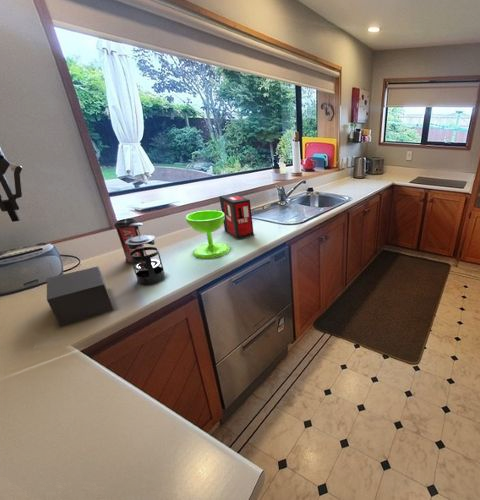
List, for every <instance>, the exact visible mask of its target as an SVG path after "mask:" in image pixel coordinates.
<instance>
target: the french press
mask: <svg viewBox="0 0 480 500" xmlns="http://www.w3.org/2000/svg"><path fill="white" fill-rule="evenodd" d="M141 226H144V223H143V222H137V223H133V224H130V225H129V227H135V229H137V232H138V236H136V237H132V238H130V239H128V240H126V242H125V243H126V244H127V245H128V247H129V248H130V249H135V248H136V247H138V246H139V245H141V246H142V247H138V249H136V250H133V251H131V252H130V253H129V255H130V258H131V261H132V259H133V260H142V261H140V262H137V263H136V265H135V263H133V261H132V263H131V264H132V267H133V270H134V273H135V277H136V279H137V284H138V285H140V286H151V285H155V284H158V283H160V282H162V281H164V280H165V279H166V277H167V274H166V273H165V270H164V269H165V268H164V266H163V262H162V259H161V255H160V252H159V248H158V247H156V246H153V245H155V244H156V243H155V239H156V237H155V236H154V235H149V234H143V235H142V234H140V235H141V236H140V235H139V231H140V228H139V227H141ZM138 229H139V231H138ZM142 244H143V245H151V246H144V247H143V245H142ZM145 251H146V252H145ZM147 251H154V252H153V253H150V254H147ZM137 252H139V253H140V256H139V257H135V256H132V255H133V254H135V253H137ZM146 254H147V255H146ZM156 256H158V259H151V258H154V257H156Z"/></svg>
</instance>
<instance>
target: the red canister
mask: <svg viewBox="0 0 480 500" xmlns="http://www.w3.org/2000/svg"><path fill="white" fill-rule="evenodd" d="M133 223H138V221H137V220H135V219H134V218H124V219H119V220H117V221H116V222H115V223H114V227H115V229H116V232H117V235H118V238H119V241H120V244H121V247H122V250H123V253H124V256H125V261H126V262H127V263H131V264H132V261H133V264H138V263H140V262H142V260H133V259H132V261H131V258H130V255H129V253H130V252H131V251H133V250H136V249H138V247H142V246H141V245H139V246H138V247H136V248H135V249H130V248H129V247H128V245H127V244H126V243H125V242H126V240H128V239H130V238H132V237H136V236H138V232H137V229H135V227H129V225H130V224H133ZM138 231H139V235H140V236H142V234H141V232H140V228H139V229H138ZM142 245H143V247H145V244H142ZM145 252H146V255H148V254H147V250H145ZM132 256H135V257H139V256H140V253H139V252H137V253H135V254H133V255H132Z"/></svg>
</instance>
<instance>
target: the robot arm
mask: <svg viewBox="0 0 480 500" xmlns="http://www.w3.org/2000/svg"><path fill="white" fill-rule="evenodd" d="M9 167H10V170H11V171H12V172H13V181H14V190H15V193H14V192H13V190H12V188H11V186H10V184H9V181H8V180H7V177H6V175H5V174H6V173H7V170H8V169H9ZM23 168H24V167H23V166H22V165H20V164H19V165H17V164H15V163H12V162H10V160H9V159H8V158H7V157H6V156H5V154H4V151H3V150H2V147H1V146H0V185H1V186H2V189H3V191H4V193H5V195H6V197H7V199H4V197H3V196H2V194H1V193H0V211H1V212H3V213H4V212H7V214H8V216H9V218H10V220H11V222H20V216H19V214H18V212H17V211H19V210H20V206H19V203H18V201H17V199H20V198H22V196H23V187H22V177H21V172H22V171H23Z"/></svg>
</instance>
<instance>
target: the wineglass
mask: <svg viewBox="0 0 480 500" xmlns="http://www.w3.org/2000/svg"><path fill="white" fill-rule="evenodd" d="M224 219H225V214H224V213H223V212H222V210H215V209H214V210H213V209H209V210H198V211H194V212H191V213H188V214H187V215H186V216H185V220H186V222H187V224H188V225H189V226H190V228H191V229H193V230H194V231H195V232H199V233H202V234H203V233H204V234H206V237H207V244H203V245H200V246H198V247H197V248H195V249H194V251H193V256H194V257H196V258H199V259H215V258H219V257H222V256H224V255H227V254H228V253H229V252H230V250H231V248H230V246H229V245H228V244H225V243H221V242H214V241H213V237H212V233H213V232H216V231H218V230H219V229H220V228H221V227H222V226H223V225H224V223H223V222H224Z"/></svg>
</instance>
